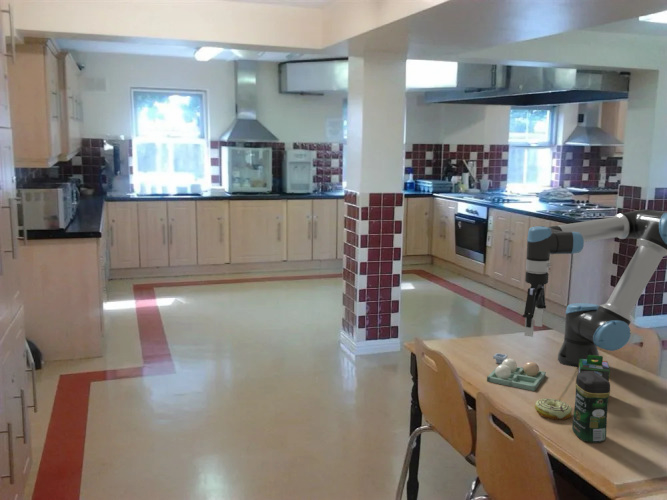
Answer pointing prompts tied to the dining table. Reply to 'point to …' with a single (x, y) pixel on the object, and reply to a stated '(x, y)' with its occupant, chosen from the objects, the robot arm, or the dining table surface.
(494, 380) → the carton
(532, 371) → the brown egg
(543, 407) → the decorated donut
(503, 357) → the egg cup
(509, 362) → the cream egg
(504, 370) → the cream egg
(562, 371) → the dining table surface
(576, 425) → the coffee jar
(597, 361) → the chalk box
